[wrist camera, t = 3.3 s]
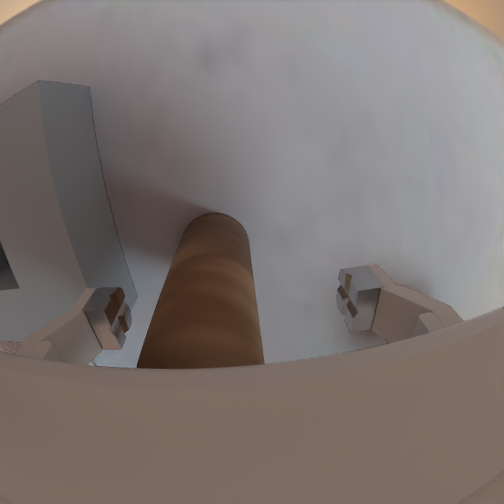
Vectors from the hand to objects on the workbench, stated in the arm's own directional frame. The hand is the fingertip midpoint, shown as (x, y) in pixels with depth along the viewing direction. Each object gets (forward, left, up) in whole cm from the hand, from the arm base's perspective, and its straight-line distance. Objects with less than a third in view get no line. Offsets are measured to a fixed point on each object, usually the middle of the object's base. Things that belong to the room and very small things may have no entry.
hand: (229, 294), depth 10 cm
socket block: (+15, -3, -7) cm, 17 cm away
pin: (+1, +1, -7) cm, 7 cm away
